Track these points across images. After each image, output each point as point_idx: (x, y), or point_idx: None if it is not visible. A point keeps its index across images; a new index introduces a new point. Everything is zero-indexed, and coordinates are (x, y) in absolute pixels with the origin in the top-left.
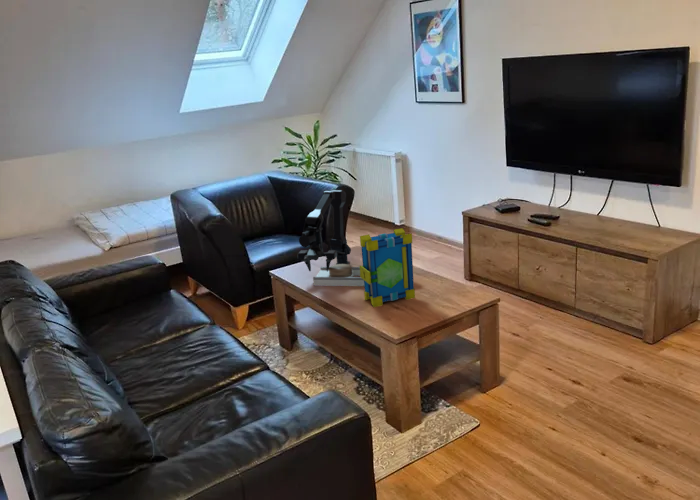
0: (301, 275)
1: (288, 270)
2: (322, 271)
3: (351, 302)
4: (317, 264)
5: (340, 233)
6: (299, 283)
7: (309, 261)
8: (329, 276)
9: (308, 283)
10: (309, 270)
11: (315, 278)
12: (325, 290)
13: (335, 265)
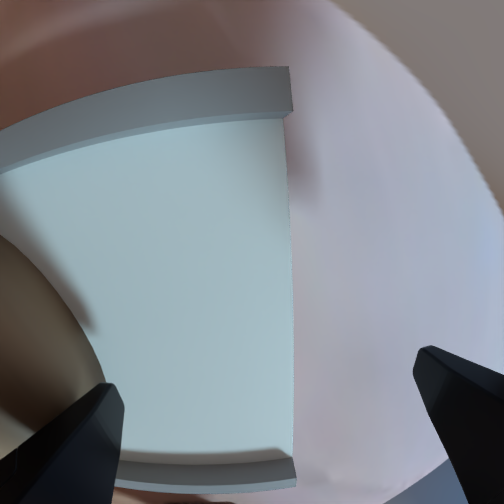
0: None
1: None
2: (254, 431)
3: None
4: (353, 495)
5: None
6: (452, 175)
7: (487, 488)
8: (57, 282)
9: (365, 177)
10: (437, 350)
11: (230, 76)
12: (71, 10)
13: None
